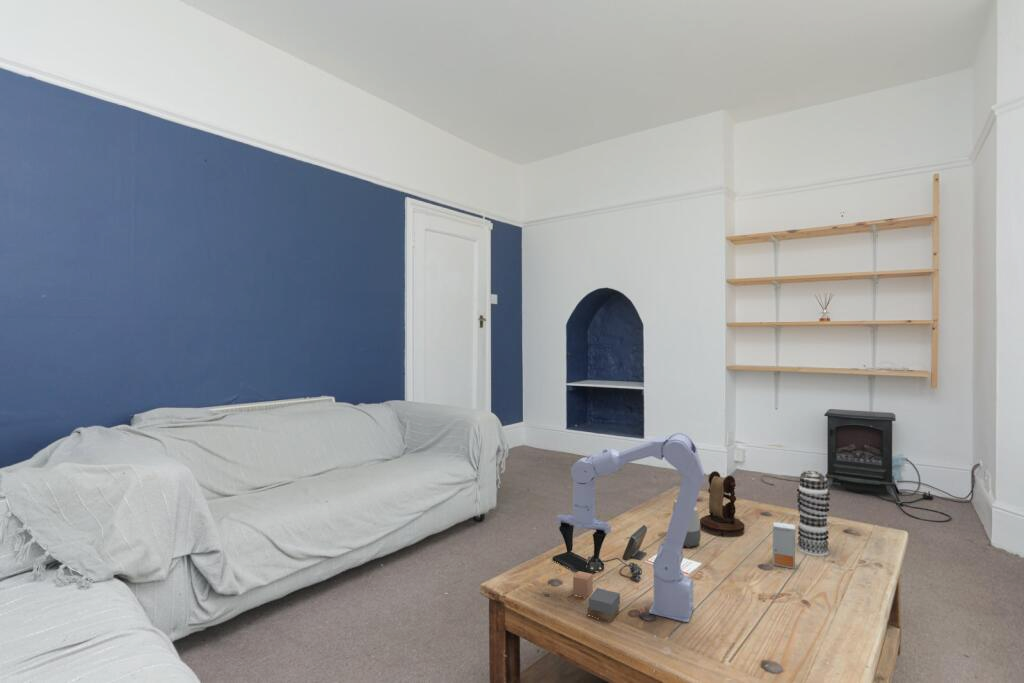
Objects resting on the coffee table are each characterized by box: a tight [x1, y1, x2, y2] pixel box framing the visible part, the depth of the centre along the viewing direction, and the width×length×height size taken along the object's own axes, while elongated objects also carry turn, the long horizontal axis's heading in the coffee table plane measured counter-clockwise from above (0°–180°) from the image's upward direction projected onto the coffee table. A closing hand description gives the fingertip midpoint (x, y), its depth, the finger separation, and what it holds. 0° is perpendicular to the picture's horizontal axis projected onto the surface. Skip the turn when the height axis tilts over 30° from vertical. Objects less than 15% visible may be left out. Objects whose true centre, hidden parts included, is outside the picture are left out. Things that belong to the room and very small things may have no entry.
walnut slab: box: [587, 604, 620, 623], centre depth 131 cm, size 6×6×2 cm
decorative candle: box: [796, 470, 831, 557], centre depth 168 cm, size 9×9×25 cm
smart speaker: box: [672, 499, 702, 548], centre depth 175 cm, size 10×9×14 cm
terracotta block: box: [572, 571, 594, 599], centre depth 141 cm, size 4×4×5 cm
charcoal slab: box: [588, 587, 621, 614], centre depth 131 cm, size 6×6×2 cm
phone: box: [552, 551, 595, 575], centre depth 159 cm, size 8×1×15 cm
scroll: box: [699, 470, 746, 537], centre depth 187 cm, size 15×15×20 cm
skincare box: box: [772, 521, 797, 570], centre depth 158 cm, size 6×4×12 cm
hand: (582, 554), depth 141 cm, fingers open, 7 cm apart
